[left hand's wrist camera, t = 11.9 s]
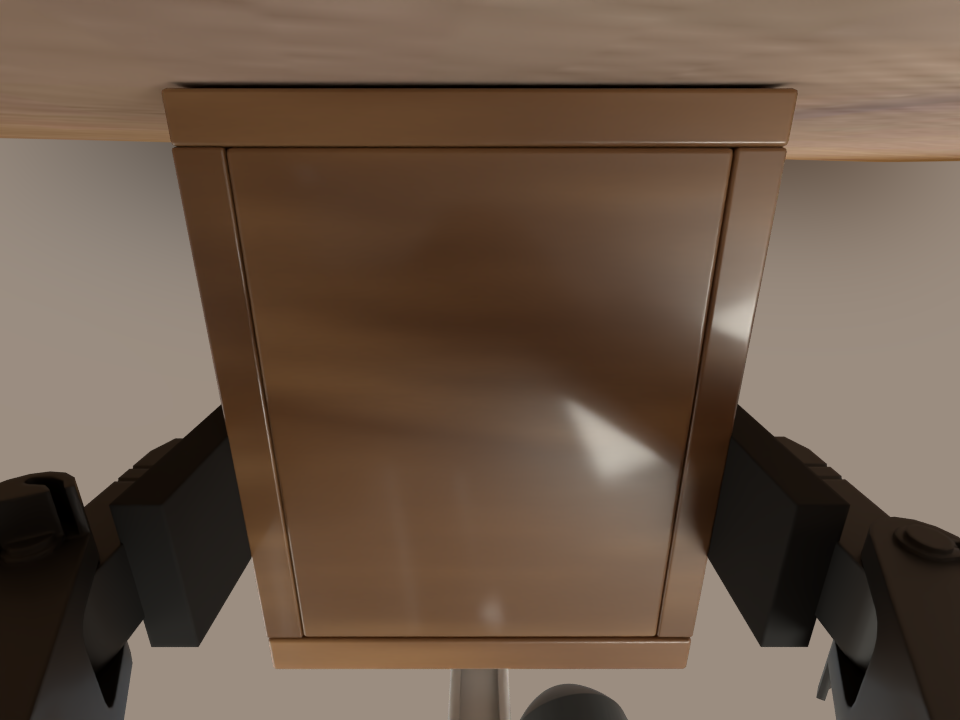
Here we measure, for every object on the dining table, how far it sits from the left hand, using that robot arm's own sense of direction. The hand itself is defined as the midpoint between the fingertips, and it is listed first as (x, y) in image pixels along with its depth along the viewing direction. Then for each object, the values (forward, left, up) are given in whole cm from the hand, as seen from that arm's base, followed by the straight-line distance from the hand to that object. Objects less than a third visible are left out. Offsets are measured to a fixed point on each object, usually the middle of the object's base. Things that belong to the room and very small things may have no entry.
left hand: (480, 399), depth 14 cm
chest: (+1, -2, -7) cm, 7 cm away
